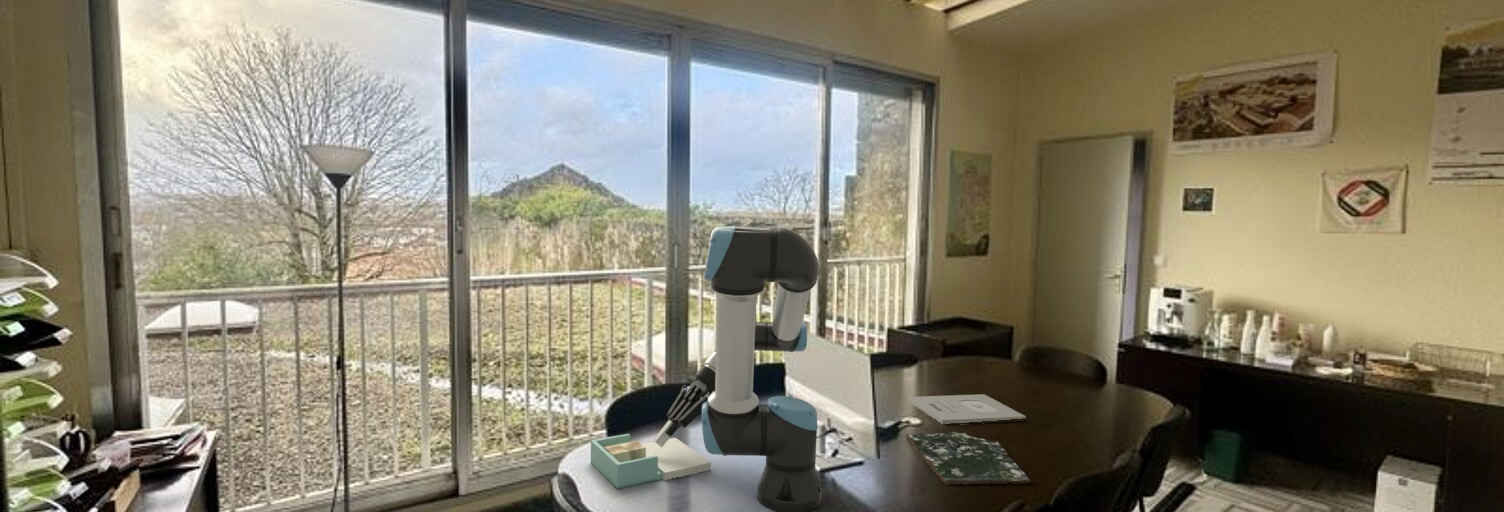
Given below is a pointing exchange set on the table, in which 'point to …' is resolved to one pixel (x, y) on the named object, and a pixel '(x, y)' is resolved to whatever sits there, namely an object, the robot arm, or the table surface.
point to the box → (622, 464)
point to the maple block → (627, 451)
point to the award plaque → (964, 408)
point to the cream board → (676, 459)
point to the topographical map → (966, 459)
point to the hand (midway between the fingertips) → (657, 443)
